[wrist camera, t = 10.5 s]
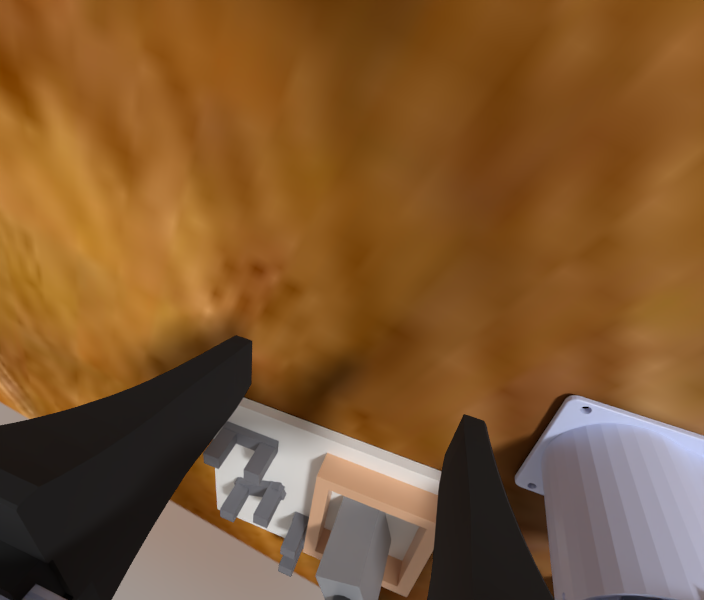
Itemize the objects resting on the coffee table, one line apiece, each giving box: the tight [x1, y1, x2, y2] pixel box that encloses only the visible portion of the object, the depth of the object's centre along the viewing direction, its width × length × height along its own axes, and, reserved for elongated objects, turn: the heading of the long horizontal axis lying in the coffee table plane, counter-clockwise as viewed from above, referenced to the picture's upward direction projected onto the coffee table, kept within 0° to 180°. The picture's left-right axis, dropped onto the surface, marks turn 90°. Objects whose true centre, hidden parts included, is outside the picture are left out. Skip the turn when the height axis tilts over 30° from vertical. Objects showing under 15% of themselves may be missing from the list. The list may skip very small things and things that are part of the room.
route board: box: [203, 397, 442, 577], centre depth 32 cm, size 19×16×4 cm
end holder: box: [303, 453, 438, 597], centre depth 30 cm, size 9×11×2 cm
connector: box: [316, 496, 391, 600], centre depth 29 cm, size 3×5×7 cm, turn 11°
